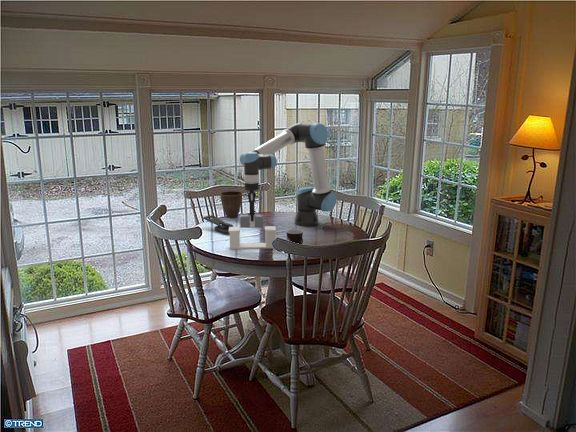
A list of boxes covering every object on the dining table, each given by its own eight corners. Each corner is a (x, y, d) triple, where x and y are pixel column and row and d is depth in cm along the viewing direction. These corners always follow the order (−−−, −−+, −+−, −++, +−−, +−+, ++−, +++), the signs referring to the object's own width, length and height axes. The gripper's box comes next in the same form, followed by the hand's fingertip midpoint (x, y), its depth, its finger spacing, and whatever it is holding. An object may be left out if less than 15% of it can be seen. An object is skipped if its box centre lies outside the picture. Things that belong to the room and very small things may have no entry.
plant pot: (220, 219, 320) (220, 195, 316) (220, 214, 334) (219, 191, 330) (243, 219, 322) (243, 195, 318) (242, 213, 336) (241, 190, 333)
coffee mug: (285, 247, 262) (285, 229, 260) (301, 247, 263) (301, 229, 260) (287, 254, 251) (287, 235, 248) (304, 254, 252) (304, 235, 249)
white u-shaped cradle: (275, 243, 269) (275, 226, 266) (276, 248, 261) (275, 230, 259) (229, 244, 267) (229, 226, 265) (229, 249, 259) (228, 230, 257)
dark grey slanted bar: (213, 214, 306) (238, 221, 289) (213, 224, 308) (238, 232, 291) (201, 217, 300) (226, 224, 283) (201, 227, 302) (226, 235, 285)
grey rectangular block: (263, 225, 264) (263, 214, 262) (263, 227, 260) (263, 216, 258) (240, 225, 263) (240, 214, 262) (240, 227, 259) (240, 216, 258)
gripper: (244, 179, 264) (245, 221, 269) (244, 185, 247) (244, 230, 253) (258, 179, 264) (259, 221, 270) (258, 185, 248) (259, 229, 253)
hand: (252, 225), depth 261 cm, fingers closed on grey rectangular block, 4 cm apart
